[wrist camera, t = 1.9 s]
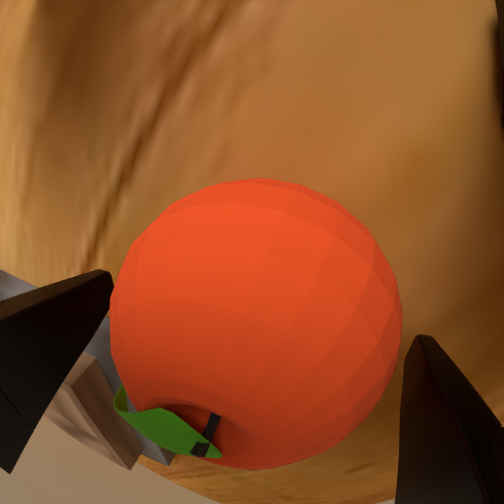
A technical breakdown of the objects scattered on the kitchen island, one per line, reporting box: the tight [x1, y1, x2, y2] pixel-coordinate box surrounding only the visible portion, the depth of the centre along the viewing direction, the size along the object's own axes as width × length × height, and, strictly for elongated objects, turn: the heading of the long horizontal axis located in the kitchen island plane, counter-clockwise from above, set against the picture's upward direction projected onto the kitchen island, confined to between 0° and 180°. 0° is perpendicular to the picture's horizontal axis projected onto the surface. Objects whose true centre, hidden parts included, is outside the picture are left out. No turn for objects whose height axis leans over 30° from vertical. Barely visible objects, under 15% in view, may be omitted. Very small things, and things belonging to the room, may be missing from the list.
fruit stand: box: [0, 270, 176, 470], centre depth 18 cm, size 16×16×4 cm
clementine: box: [110, 178, 402, 470], centre depth 7 cm, size 8×7×7 cm
